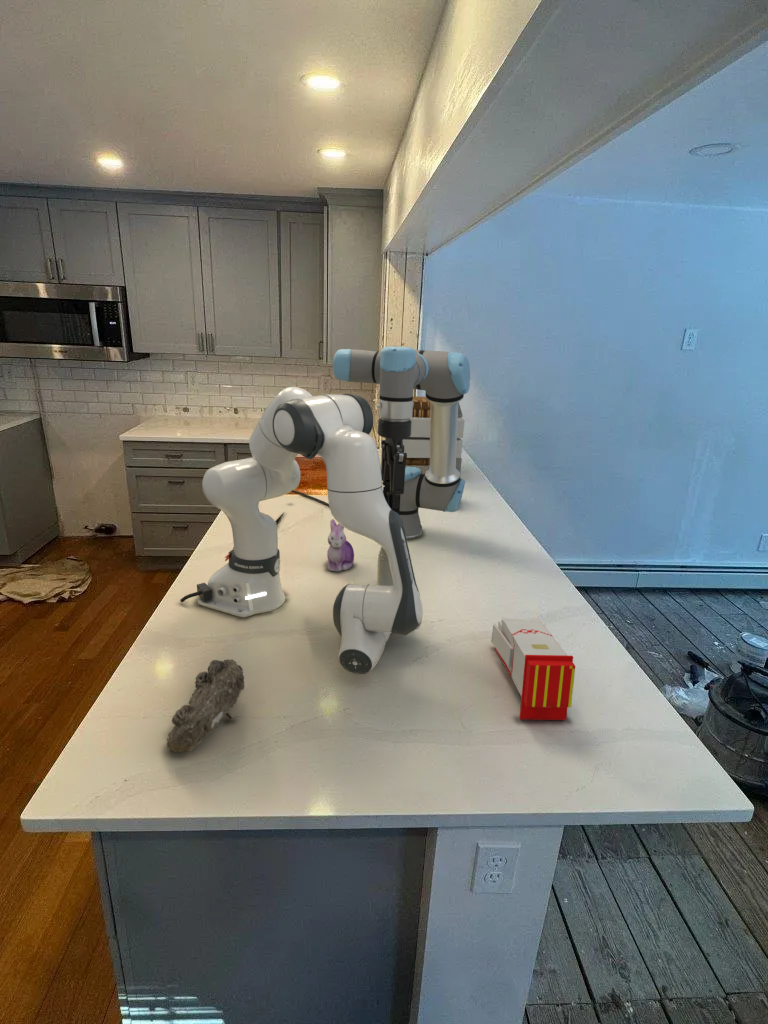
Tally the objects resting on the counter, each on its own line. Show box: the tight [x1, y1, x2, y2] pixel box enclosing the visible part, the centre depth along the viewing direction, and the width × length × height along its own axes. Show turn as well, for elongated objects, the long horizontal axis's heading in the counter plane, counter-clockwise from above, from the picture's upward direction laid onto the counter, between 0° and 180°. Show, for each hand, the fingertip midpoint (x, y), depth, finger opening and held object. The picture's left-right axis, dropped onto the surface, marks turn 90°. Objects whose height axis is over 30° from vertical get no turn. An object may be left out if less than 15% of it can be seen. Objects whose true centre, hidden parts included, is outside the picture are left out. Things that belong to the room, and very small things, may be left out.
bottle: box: [376, 545, 394, 586], centre depth 140 cm, size 5×5×24 cm
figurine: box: [326, 518, 355, 572], centre depth 171 cm, size 9×10×15 cm
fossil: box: [166, 658, 245, 754], centre depth 106 cm, size 22×10×15 cm
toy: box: [490, 617, 576, 721], centre depth 122 cm, size 12×13×30 cm
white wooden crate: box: [403, 395, 465, 475], centre depth 268 cm, size 34×33×41 cm
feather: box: [274, 503, 291, 525], centre depth 211 cm, size 2×28×2 cm
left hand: (386, 596), depth 143 cm, fingers closed on bottle, 5 cm apart
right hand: (390, 515), depth 135 cm, fingers closed on cap, 4 cm apart
